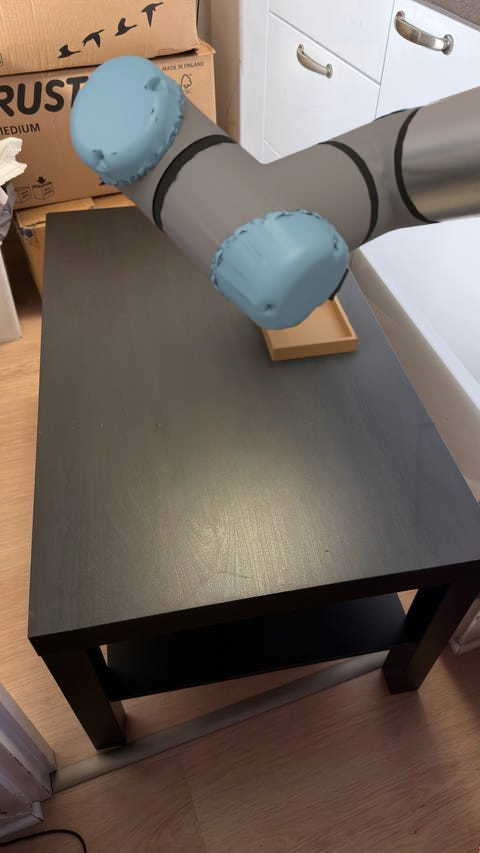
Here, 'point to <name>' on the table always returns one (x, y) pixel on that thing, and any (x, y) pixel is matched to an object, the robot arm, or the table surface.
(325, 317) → the square wooden tray
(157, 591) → the table surface
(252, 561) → the table surface
